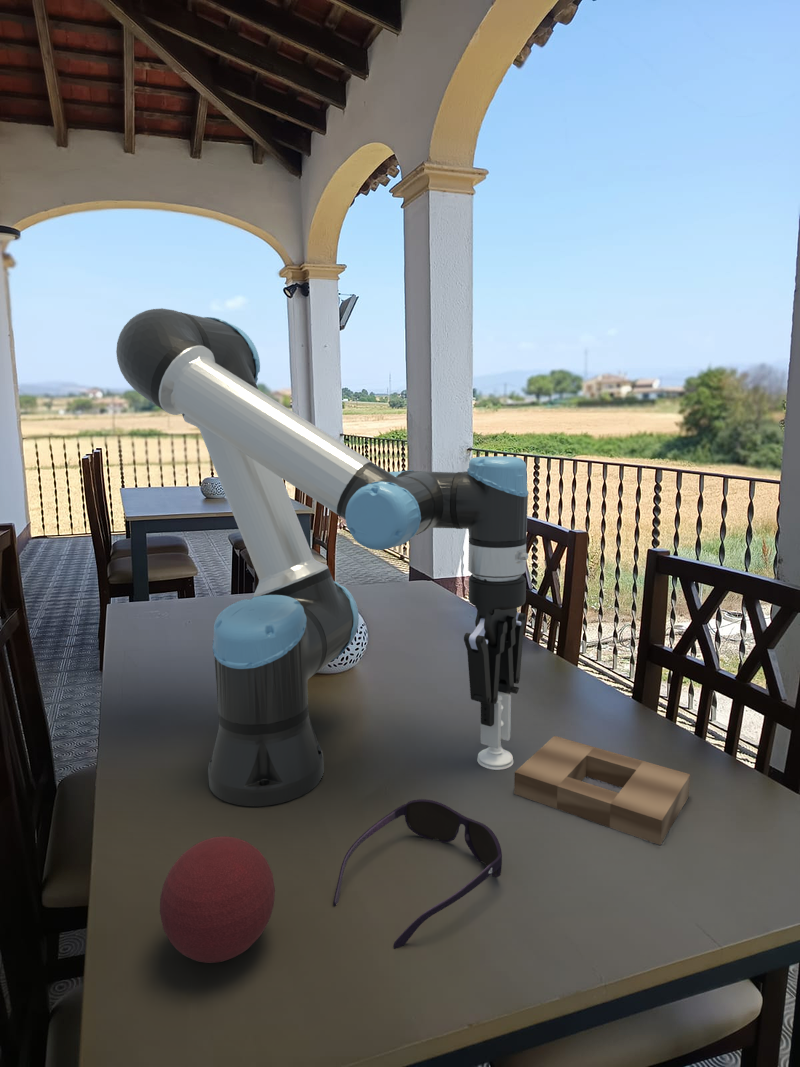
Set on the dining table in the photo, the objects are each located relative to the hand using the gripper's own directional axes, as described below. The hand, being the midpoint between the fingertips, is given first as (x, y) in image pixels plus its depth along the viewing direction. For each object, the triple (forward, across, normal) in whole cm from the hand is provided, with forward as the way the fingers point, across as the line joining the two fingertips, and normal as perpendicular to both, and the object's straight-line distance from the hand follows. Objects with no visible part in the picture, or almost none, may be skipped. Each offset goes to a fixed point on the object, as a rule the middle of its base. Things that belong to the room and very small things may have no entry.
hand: (495, 740), depth 94 cm
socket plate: (+3, 0, -15) cm, 15 cm away
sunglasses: (+4, -27, -6) cm, 28 cm away
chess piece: (+3, 0, 0) cm, 3 cm away
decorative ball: (+3, -44, +4) cm, 44 cm away
